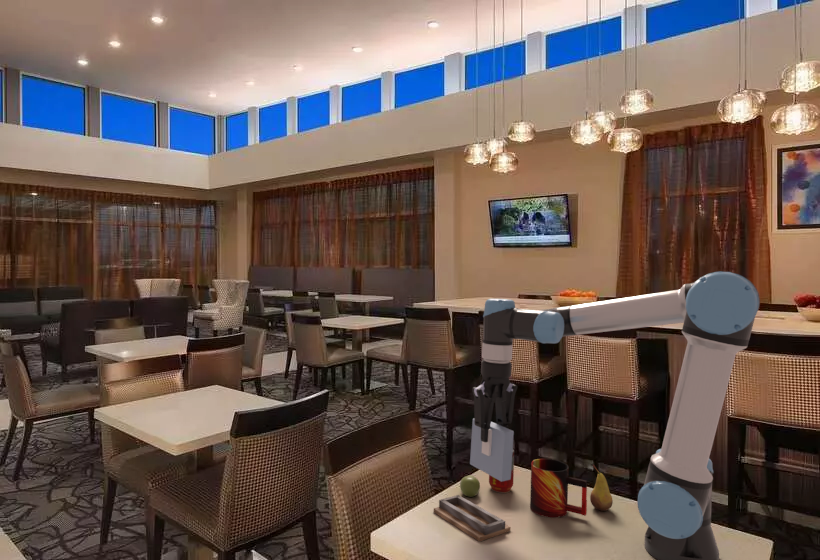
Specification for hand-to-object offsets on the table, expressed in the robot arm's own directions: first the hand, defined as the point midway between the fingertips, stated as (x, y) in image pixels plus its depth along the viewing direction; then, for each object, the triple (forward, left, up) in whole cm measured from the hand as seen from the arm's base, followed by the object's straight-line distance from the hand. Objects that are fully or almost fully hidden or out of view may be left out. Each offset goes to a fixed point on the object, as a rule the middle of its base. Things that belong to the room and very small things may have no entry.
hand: (491, 452), depth 134 cm
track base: (+3, +4, -18) cm, 18 cm away
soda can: (+14, -17, -18) cm, 28 cm away
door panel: (+1, 0, -5) cm, 5 cm away
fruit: (-10, -31, -18) cm, 37 cm away
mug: (-4, -20, -18) cm, 27 cm away
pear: (+17, -8, -18) cm, 26 cm away
